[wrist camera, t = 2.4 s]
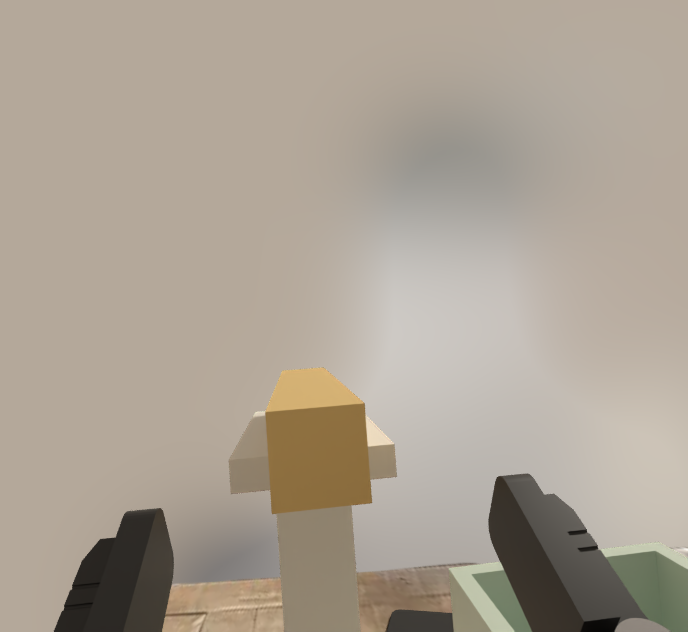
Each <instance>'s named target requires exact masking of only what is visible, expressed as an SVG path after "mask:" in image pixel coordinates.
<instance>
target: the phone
mask: <svg viewBox="0 0 688 632" xmlns="http://www.w3.org/2000/svg"><path fill="white" fill-rule="evenodd" d="M387 632H454V628H453V616H452V613H442V612H428V611H414V610H395V611H394V612H393V613H392V614H391V618H390V622H389V626H388V629H387Z"/></svg>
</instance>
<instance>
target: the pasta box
mask: <svg viewBox="0 0 688 632" xmlns="http://www.w3.org/2000/svg"><path fill="white" fill-rule="evenodd" d="M265 416H266V431H267V446H268V462H269V477H270V492H271V507H272V514H277V513H286V512H295V511H305V510H314V509H323V508H332V507H341V506H350V505H358V504H368V503H372V496H371V482H370V469H369V456H368V442H367V429H366V415H365V404H364V402H363V401H361V400H360V399H359V398H358V397H357V396H355V394H353V393H352V392H351V391H350V390H349V389H348V388H346V387H345V386H344V385H343V384H342V383H341V382H340V381H338V380H337V379H336V378H335V377H334V376H333V375H332V374H331V373H329V372H328V371H327V370H326V369H325V368H311V369H299V370H285V371H282V373H281V376H280V378H279V380H278V383H277V385H276V388H275V390H274V392H273V395H272V397H271V400H270V402H269V404H268V407H267V409H266V411H265Z"/></svg>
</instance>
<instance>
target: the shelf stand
mask: <svg viewBox="0 0 688 632" xmlns="http://www.w3.org/2000/svg"><path fill="white" fill-rule="evenodd" d="M366 429H367V442H368V456H369V469H370V480H371V479H382V478H391V477H397V473H396V459H395V447H394V443H393V442H392V441H391V440H390V439H389V438H388V437H387V436H386V435H385V434H384V433H383V432H382V431H381V430H380V429H379V428H378V427H377V426H376V425H375V424H374V423H373V422H372V421H371V420H370V419H369V418H368V417H367V416H366ZM229 470H230V471H229V472H230V487H231V494H238V493H247V492H256V491H265V490H270V477H269V462H268V446H267V431H266V416H265V411H261V412H255V414H254V416H253V418H252V419H251V421H250V423H249V425H248V426H247V428H246V430H245V432H244V434H243V436H242V437H241V439H240V441H239V443H238V445H237V446H236V448H235V450H234V452H233V453H232V455H231V457H230V459H229ZM277 528H278V543H279V559H280V574H281V589H282V604H283V620H284V632H361V631H360V618H359V604H358V590H357V576H356V562H355V549H354V536H353V522H352V508H351V505H350V506H341V507H332V508H323V509H314V510H305V511H295V512H286V513H277Z"/></svg>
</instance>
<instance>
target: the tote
mask: <svg viewBox="0 0 688 632" xmlns="http://www.w3.org/2000/svg"><path fill="white" fill-rule="evenodd" d="M599 550H601V551H602V553H603V554H604V556H605V557H606V559H607V560H608V562H609V563H610V565H611V566H612V568H613V569H614V570H615V572H616V573H617V575H618V576H619V578H620V579H621V581H622V582H623V584H624V585H625V587H626V588H627V590H628V591H629V593H630V594H631V596H632V597H633V599H634V600H635V602H636V603H637V604H638V606H639V607H640V609H641V610H642V612H643V613H644V614H645V616H646V617H647V618H648V619H649V620H650V621H653V622H656V623H658V624H660V625H662V626H664V627H665V628H667V629H668V630H670V631H671V632H688V558H687V557H685V556H683V555H681V554H680V553H678V552H676V551H674V550H672V549H671V548H669V547H667V546H665V545H663V544H661V543H660V542H654V543H646V544H638V545H630V546H622V547H614V548H606V549H599ZM449 579H450V591H451V604H452V616H453V628H454V632H532V630H531V628H530V626H529V624H528V621H527V619H526V617H525V615H524V613H523V610H522V608H521V606H520V604H519V602H518V599H517V597H516V595H515V593H514V591H513V588H512V586H511V584H510V582H509V580H508V577H507V575H506V573H505V571H504V569H503V566H502V564H501V562H495V563H487V564H479V565H471V566H463V567H455V568H449Z"/></svg>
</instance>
